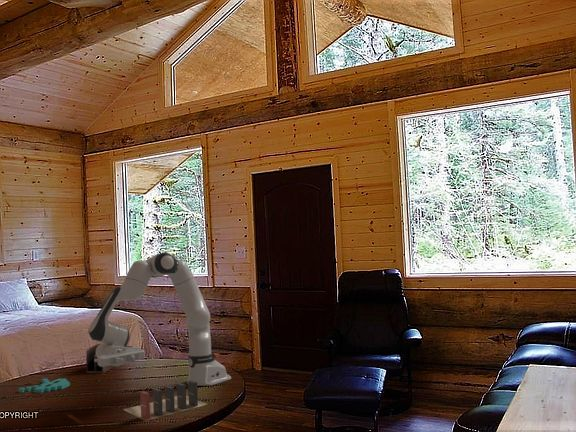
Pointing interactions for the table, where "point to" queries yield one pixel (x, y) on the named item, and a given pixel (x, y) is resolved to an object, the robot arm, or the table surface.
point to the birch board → (137, 409)
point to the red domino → (145, 405)
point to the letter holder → (91, 364)
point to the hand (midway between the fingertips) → (128, 360)
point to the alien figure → (47, 386)
